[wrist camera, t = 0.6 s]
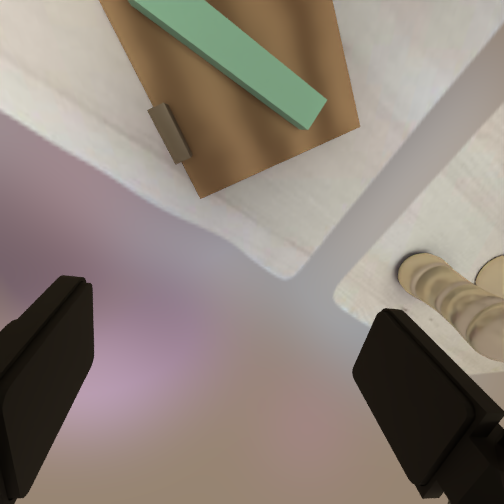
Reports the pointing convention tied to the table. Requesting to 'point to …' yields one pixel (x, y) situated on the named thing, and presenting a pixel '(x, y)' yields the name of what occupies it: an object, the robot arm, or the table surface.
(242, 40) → the folding leg
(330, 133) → the stool seat
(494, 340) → the plastic bottle
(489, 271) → the milk bottle
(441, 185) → the table surface
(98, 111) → the table surface
